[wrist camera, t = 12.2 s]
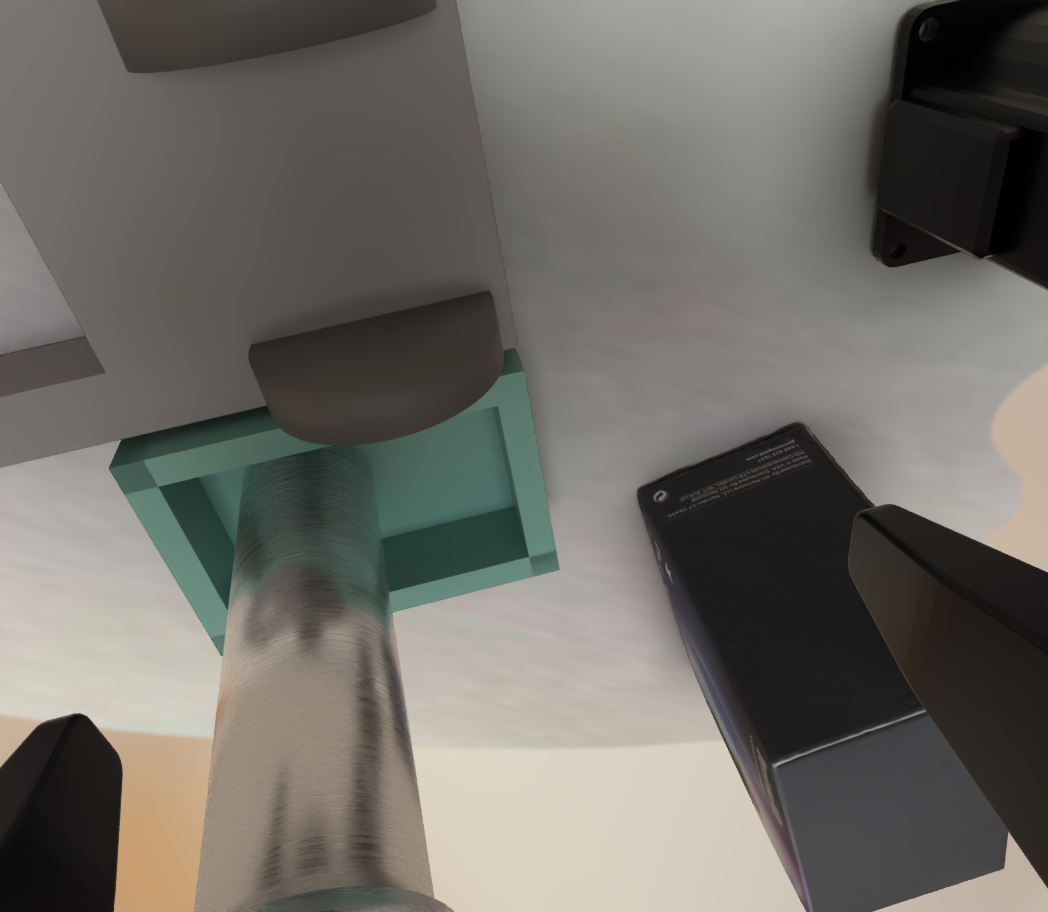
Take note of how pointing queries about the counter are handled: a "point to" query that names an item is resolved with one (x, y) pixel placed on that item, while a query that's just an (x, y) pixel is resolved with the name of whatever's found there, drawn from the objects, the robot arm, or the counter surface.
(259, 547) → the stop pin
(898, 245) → the robot arm
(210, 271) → the socket plate with bumps
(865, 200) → the counter surface
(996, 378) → the counter surface
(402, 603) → the tray
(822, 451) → the small box
